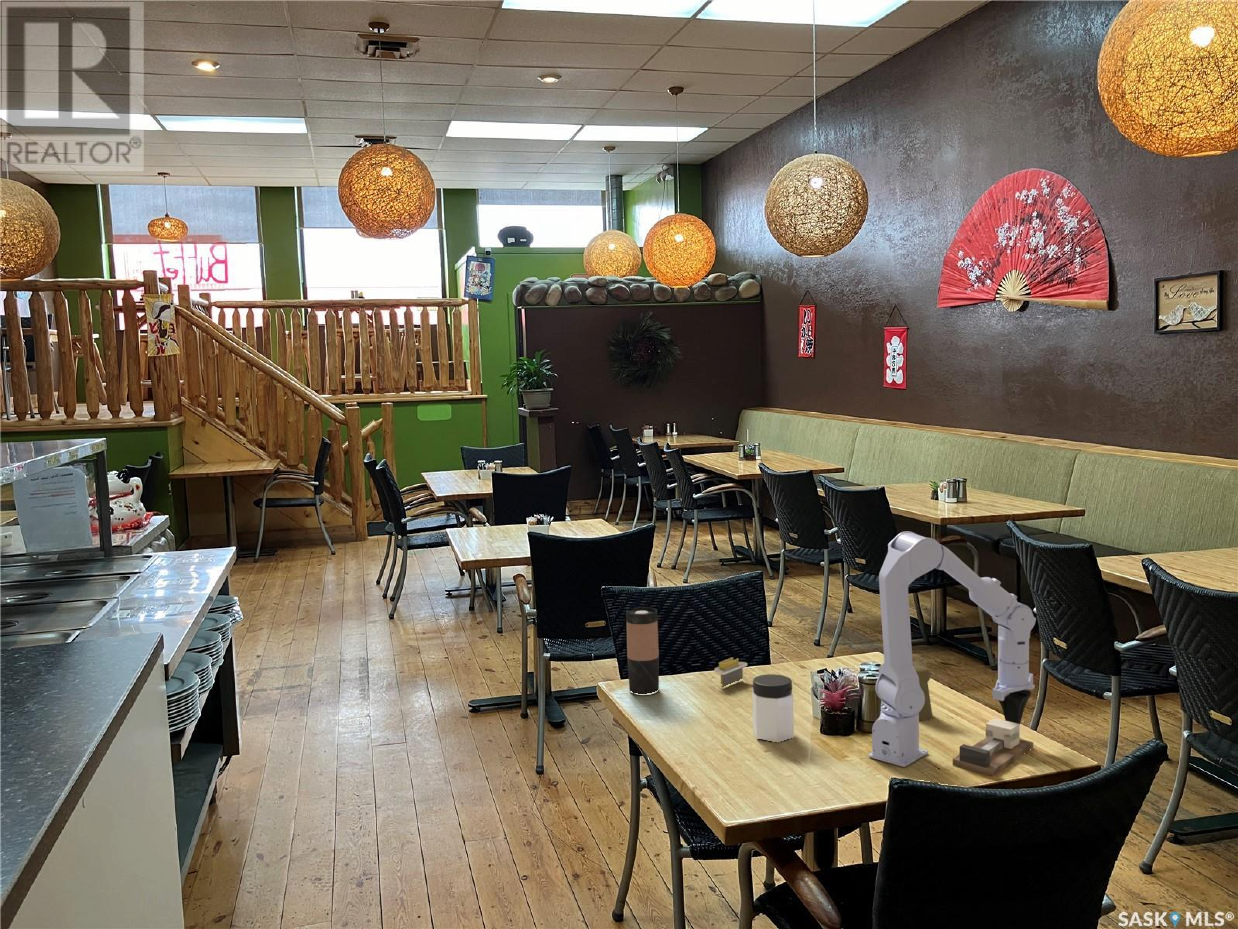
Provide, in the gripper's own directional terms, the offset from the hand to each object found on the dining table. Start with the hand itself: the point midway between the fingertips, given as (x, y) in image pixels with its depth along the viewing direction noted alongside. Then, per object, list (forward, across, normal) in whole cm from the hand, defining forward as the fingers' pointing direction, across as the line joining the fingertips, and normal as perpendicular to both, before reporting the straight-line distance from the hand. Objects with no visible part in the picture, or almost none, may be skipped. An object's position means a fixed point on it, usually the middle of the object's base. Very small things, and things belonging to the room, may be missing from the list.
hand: (1013, 726), depth 193 cm
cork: (+4, +2, +22) cm, 22 cm away
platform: (+4, -8, +67) cm, 68 cm away
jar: (+4, -28, +39) cm, 48 cm away
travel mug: (+4, -25, +80) cm, 84 cm away
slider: (+2, -5, 0) cm, 5 cm away
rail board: (+4, -9, 0) cm, 10 cm away
